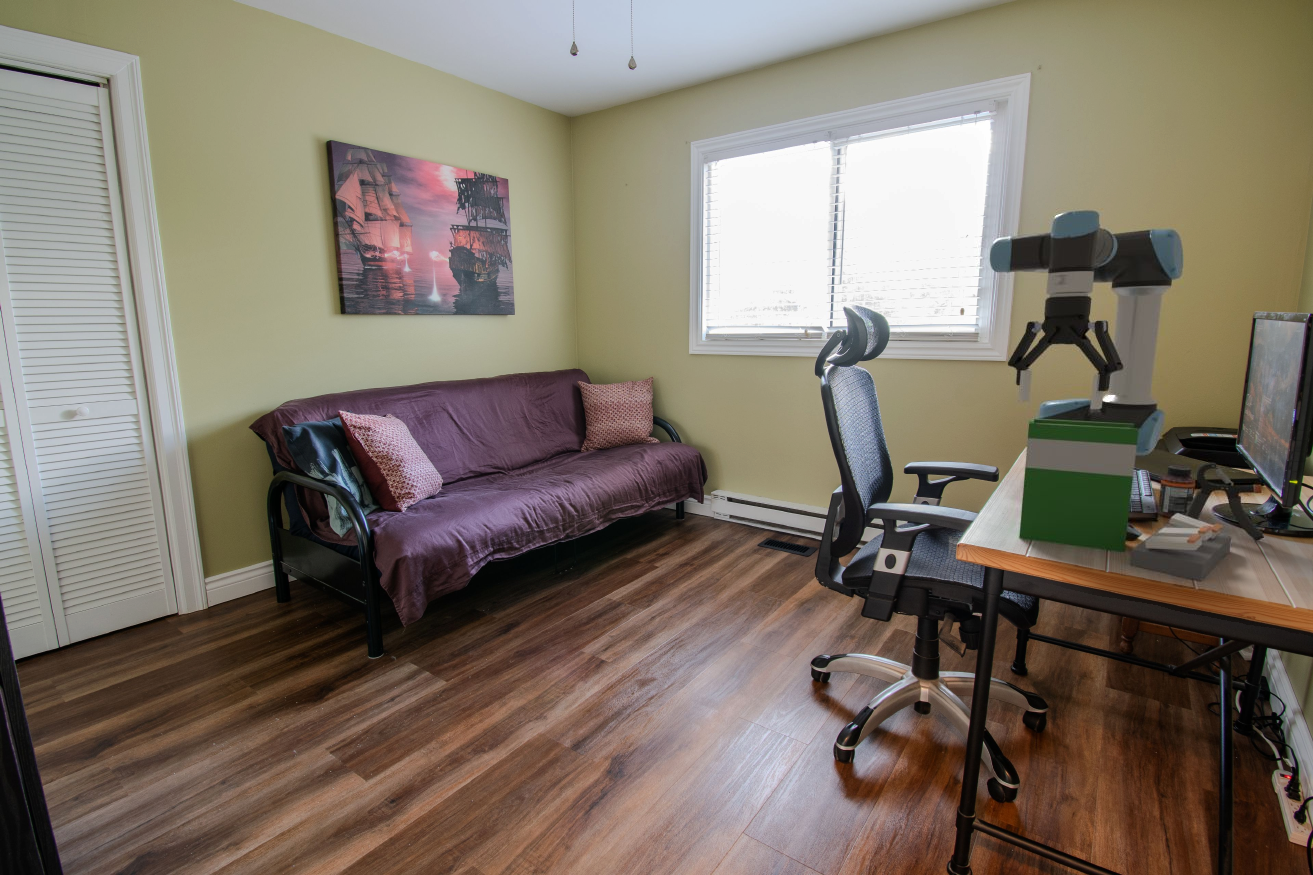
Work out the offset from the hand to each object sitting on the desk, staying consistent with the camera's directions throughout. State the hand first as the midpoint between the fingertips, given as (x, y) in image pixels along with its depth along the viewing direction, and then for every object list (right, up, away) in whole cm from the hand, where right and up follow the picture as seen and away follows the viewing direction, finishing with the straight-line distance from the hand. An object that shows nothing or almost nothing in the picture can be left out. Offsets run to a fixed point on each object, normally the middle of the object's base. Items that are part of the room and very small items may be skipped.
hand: (1058, 405), depth 127 cm
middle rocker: (+18, -24, -8) cm, 31 cm away
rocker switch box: (+20, -29, -6) cm, 36 cm away
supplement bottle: (+37, -24, +18) cm, 48 cm away
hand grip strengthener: (+36, -27, +4) cm, 45 cm away
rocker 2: (+24, -23, -4) cm, 34 cm away
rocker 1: (+12, -25, -13) cm, 31 cm away
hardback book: (+4, -28, +3) cm, 28 cm away
